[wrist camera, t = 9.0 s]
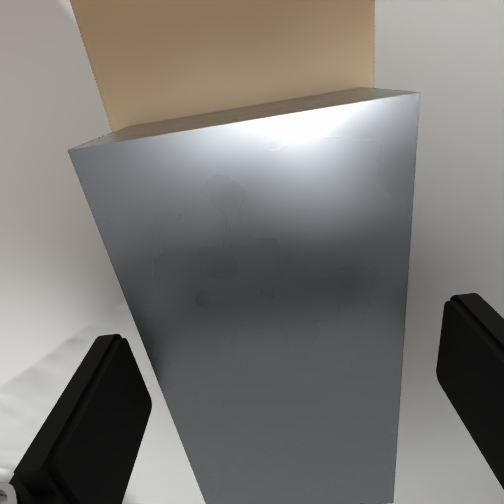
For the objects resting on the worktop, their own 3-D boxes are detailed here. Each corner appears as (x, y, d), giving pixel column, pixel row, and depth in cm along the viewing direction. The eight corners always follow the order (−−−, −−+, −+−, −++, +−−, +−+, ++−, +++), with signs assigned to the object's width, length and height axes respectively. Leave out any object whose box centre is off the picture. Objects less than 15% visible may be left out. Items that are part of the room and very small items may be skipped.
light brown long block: (351, 422, 20) (369, 484, 17) (233, 434, 21) (230, 496, 18) (336, -133, 10) (377, -234, 6) (91, -82, 10) (20, -153, 7)
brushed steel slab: (346, 362, 18) (393, 502, 12) (224, 376, 18) (211, 518, 12) (336, 84, 12) (419, 92, 6) (155, 115, 12) (67, 150, 6)
